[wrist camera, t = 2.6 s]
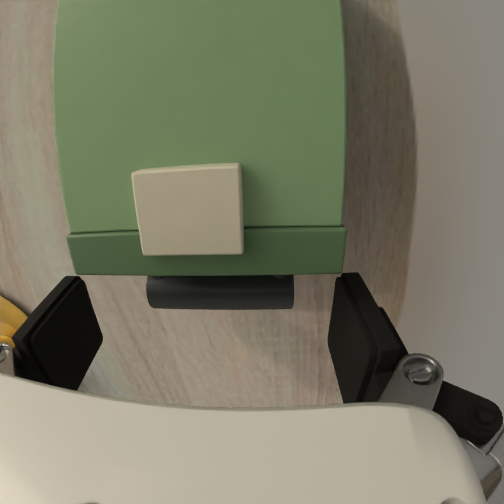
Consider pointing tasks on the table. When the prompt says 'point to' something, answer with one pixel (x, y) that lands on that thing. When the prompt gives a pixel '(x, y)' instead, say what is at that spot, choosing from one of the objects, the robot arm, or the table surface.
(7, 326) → the cup
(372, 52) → the table surface
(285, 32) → the lunchbox
